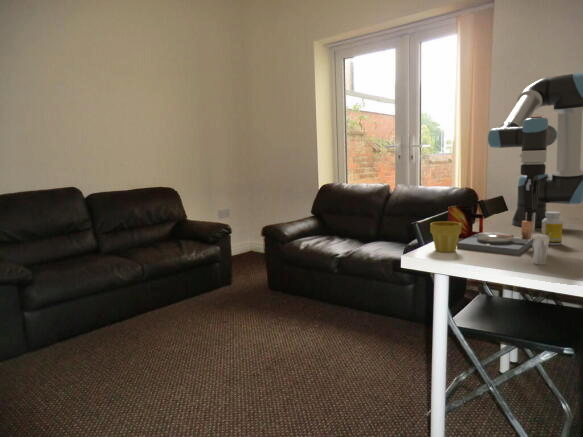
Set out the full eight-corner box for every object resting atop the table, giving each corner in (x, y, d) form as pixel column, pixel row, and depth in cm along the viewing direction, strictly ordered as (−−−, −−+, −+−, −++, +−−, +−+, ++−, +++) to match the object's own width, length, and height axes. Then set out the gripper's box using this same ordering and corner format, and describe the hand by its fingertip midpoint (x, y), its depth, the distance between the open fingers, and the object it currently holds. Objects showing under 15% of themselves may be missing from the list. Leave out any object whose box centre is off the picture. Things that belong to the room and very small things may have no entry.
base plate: (475, 239, 168) (475, 233, 167) (532, 244, 155) (532, 238, 154) (456, 248, 153) (457, 242, 152) (518, 255, 140) (518, 248, 139)
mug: (482, 239, 166) (483, 209, 165) (445, 237, 173) (446, 208, 172) (484, 235, 175) (485, 206, 173) (449, 233, 182) (450, 205, 180)
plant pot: (424, 251, 149) (425, 224, 148) (436, 246, 157) (437, 220, 155) (454, 255, 142) (455, 226, 141) (465, 249, 150) (466, 222, 149)
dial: (472, 241, 153) (473, 220, 152) (482, 236, 162) (483, 216, 161) (526, 247, 141) (527, 224, 140) (534, 241, 150) (535, 219, 149)
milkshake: (543, 266, 125) (545, 233, 124) (527, 262, 130) (528, 230, 129) (554, 264, 127) (555, 232, 126) (537, 261, 132) (539, 229, 130)
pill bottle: (564, 245, 152) (566, 213, 150) (544, 245, 153) (546, 213, 152) (557, 241, 158) (559, 211, 157) (538, 241, 160) (539, 211, 158)
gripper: (525, 163, 154) (522, 227, 157) (516, 164, 144) (513, 232, 148) (549, 162, 149) (545, 228, 153) (541, 164, 140) (537, 234, 143)
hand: (529, 230), depth 150 cm, fingers closed
